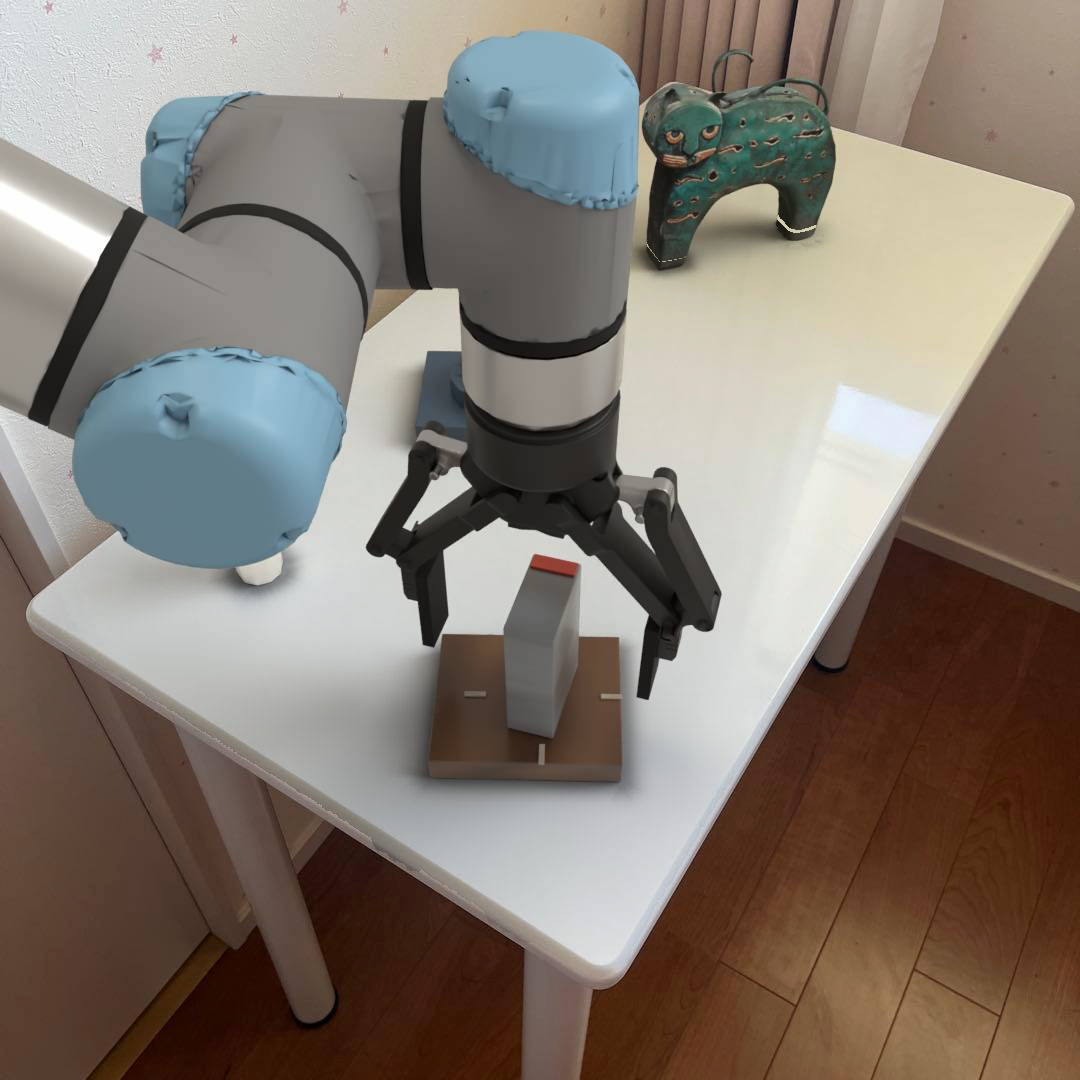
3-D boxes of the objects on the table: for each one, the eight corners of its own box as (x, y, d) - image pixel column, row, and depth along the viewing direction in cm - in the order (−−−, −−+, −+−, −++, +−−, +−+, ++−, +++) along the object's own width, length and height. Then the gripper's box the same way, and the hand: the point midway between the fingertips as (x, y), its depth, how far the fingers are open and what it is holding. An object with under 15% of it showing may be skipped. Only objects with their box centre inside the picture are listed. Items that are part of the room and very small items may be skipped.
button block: (417, 446, 91) (413, 408, 88) (429, 370, 97) (425, 333, 95) (563, 448, 90) (564, 411, 87) (564, 372, 97) (565, 335, 94)
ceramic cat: (647, 280, 107) (663, 75, 92) (622, 245, 111) (633, 44, 97) (829, 243, 111) (871, 42, 97) (798, 211, 116) (834, 14, 101)
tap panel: (429, 779, 69) (427, 761, 68) (444, 650, 76) (441, 630, 75) (622, 783, 69) (624, 765, 67) (619, 653, 76) (620, 634, 74)
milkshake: (222, 602, 79) (190, 503, 72) (234, 547, 83) (204, 448, 76) (286, 600, 79) (260, 501, 72) (295, 545, 83) (271, 446, 76)
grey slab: (552, 739, 69) (553, 637, 61) (507, 727, 69) (502, 625, 62) (578, 665, 73) (581, 561, 65) (534, 654, 73) (533, 550, 66)
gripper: (815, 384, 53) (750, 655, 68) (332, 296, 57) (374, 567, 73) (794, 490, 48) (729, 755, 63) (268, 383, 52) (328, 655, 68)
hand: (539, 655), depth 68 cm, fingers open, 13 cm apart
